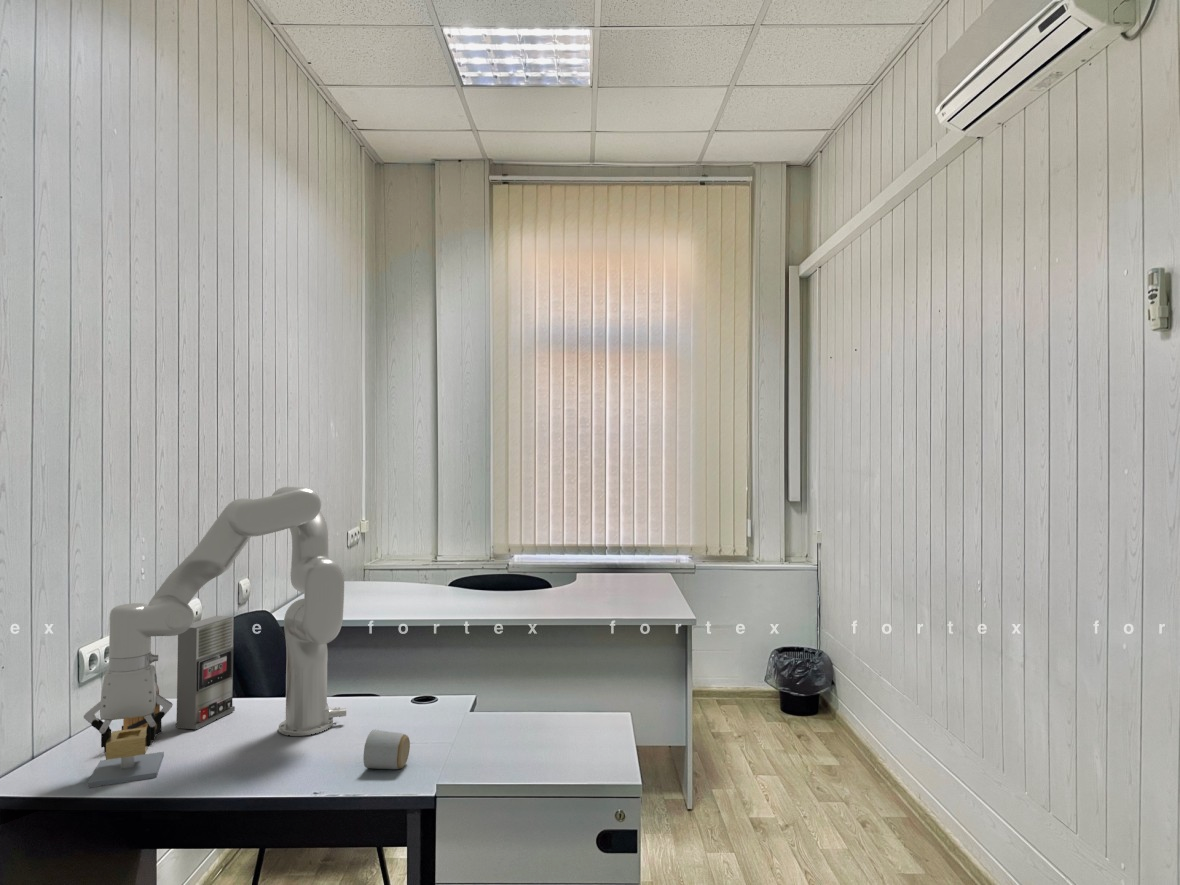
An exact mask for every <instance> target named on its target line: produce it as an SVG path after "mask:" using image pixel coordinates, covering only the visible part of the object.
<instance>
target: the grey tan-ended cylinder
mask: <svg viewBox="0 0 1180 885" xmlns="http://www.w3.org/2000/svg"><path fill="white" fill-rule="evenodd" d="M410 748H411V742H410V738H409V736H408V735H407V734H405V733H402V732H397V731H396V732H394V731H386V730H379V729H373V730H371V731H370V732H369V734H368V735H367V737H366V740H365V743H364V748H363V749H364V750H363V764H364V767H365V768H367V769H379V770H400V769H402V768H404V767H405V765H406V764H407V763H408V762H407V761H408V759H409V755H410Z"/></svg>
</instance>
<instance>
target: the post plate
mask: <svg viewBox="0 0 1180 885" xmlns="http://www.w3.org/2000/svg"><path fill="white" fill-rule="evenodd" d="M164 755H165V752H164V751H159V752H153V753H151V752H150V753H145V754H144V755H137V756H130V757H123V758H116V759H109V760H106V759H102V760H101V759H100V760H99V761H98V763H97V766H96V767H95V769H94V770H93V773H92V774H91V776H90V778H89V780H88V782H87V788H88V787H89V788H94V787H93V786H96V787H100V786H101V785H103V786H108V785H116V784H122V783H127V782H134V781H143V780H147V779H148V780H149V779H154V778H157V777H158V774H159V772H160V768H161V765H162V762H163V761H164V760H163V759H164Z"/></svg>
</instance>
